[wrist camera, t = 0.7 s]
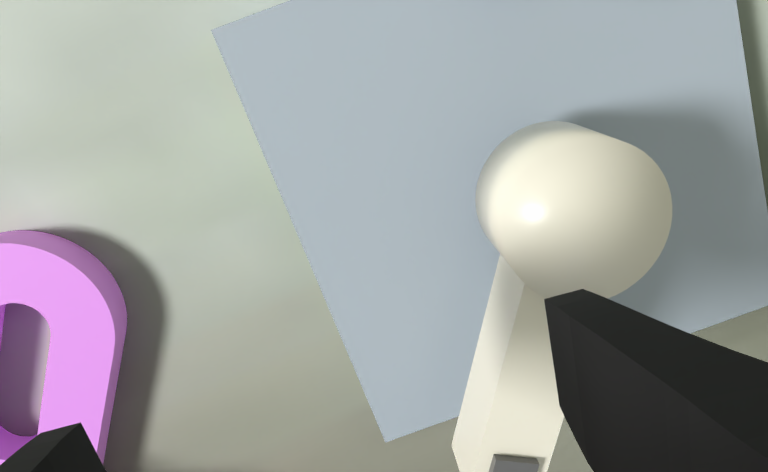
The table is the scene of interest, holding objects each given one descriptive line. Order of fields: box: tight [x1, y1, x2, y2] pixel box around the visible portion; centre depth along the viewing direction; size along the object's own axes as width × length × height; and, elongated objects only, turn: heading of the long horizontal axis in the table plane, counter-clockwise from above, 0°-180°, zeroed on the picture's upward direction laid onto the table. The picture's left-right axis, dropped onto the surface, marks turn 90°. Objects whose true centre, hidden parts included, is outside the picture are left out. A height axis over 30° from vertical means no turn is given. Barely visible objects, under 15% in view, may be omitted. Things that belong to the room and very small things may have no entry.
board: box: [211, 0, 768, 442], centre depth 17 cm, size 14×14×6 cm
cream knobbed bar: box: [452, 121, 672, 472], centre depth 17 cm, size 10×4×3 cm, turn 169°
